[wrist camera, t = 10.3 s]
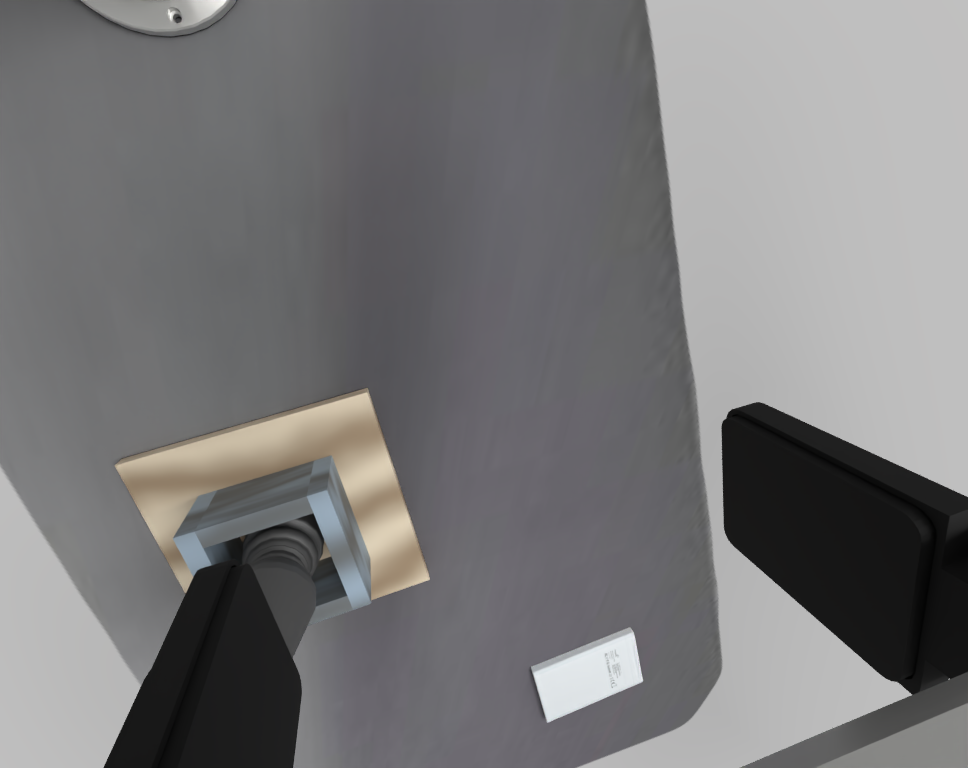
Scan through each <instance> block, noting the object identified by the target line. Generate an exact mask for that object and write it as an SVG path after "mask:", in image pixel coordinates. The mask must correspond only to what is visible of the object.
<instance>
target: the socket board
mask: <svg viewBox="0 0 968 768" xmlns="http://www.w3.org/2000/svg"><path fill="white" fill-rule="evenodd" d="M115 467H116V469H117V471H118V473H119V474H120V476H121V478H122V480H123V482H124V483H125V485H126V487H127V489H128V491H129V492H130V494H131V496H132V498H133V500H134V501H135V503H136V505H137V507H138V509H139V510H140V512H141V514H142V516H143V518H144V520H145V521H146V523H147V525H148V527H149V529H150V530H151V532H152V534H153V536H154V538H155V539H156V541H157V543H158V545H159V547H160V548H161V550H162V552H163V554H164V556H165V558H166V559H167V561H168V563H169V565H170V567H171V568H172V570H173V572H174V574H175V576H176V577H177V579H178V581H179V583H180V585H181V586H182V588H183V590H184V592H185V594H186V592H187V590H188V588H189V586H190V583H191V581H192V579H193V577H194V575H195V573H196V572H197V570H199V569H201V568H204V567H207V566H211V565H214V564H217V563H221V562H224V561H227V560H231V559H235V560H237V561H238V562H239V564H240V565H242V554H243V545H242V544H243V542H244V539H245V536H246V535H247V534H250V533H253V532H256V531H259V530H263V529H266V528H269V527H272V526H275V525H278V524H281V523H284V522H288V521H291V520H294V519H297V518H300V517H303V516H306V515H309V514H313V513H314V516H315V518H316V520H317V523H318V525H319V528H320V530H321V533H322V535H323V538H324V546H323V554H322V556H321V558H320V560H319V562H318V566H317V568H316V570H315V572H314V574H313V576H312V577H311V578H312V580H313V582H314V584H315V587H316V607H315V611H314V613H313V615H312V617H311V619H310V621H309V624H308V626H309V625H312V624H315V623H317V622H320V621H323V620H326V619H329V618H332V617H335V616H337V615H340V614H343V613H346V612H349V611H352V610H355V609H357V608H360V607H363V606H366V605H369V604H371V600H373V599H376V598H379V597H382V596H384V595H387V594H390V593H393V592H396V591H399V590H402V589H404V588H407V587H410V586H413V585H416V584H419V583H422V582H424V581H427V580H430V578H429V572H428V569H427V566H426V563H425V560H424V557H423V554H422V551H421V548H420V545H419V542H418V539H417V536H416V533H415V530H414V527H413V524H412V521H411V518H410V515H409V512H408V509H407V505H406V502H405V499H404V496H403V493H402V490H401V487H400V484H399V481H398V478H397V475H396V472H395V469H394V466H393V463H392V460H391V457H390V454H389V451H388V448H387V445H386V442H385V439H384V436H383V433H382V430H381V427H380V424H379V421H378V418H377V415H376V412H375V409H374V406H373V403H372V400H371V397H370V394H369V391H368V388H365V389H362V390H358V391H355V392H351V393H348V394H344V395H341V396H337V397H334V398H331V399H327V400H324V401H320V402H317V403H313V404H310V405H306V406H303V407H299V408H296V409H292V410H289V411H286V412H282V413H279V414H275V415H272V416H268V417H265V418H261V419H258V420H254V421H251V422H247V423H244V424H241V425H237V426H234V427H230V428H227V429H223V430H220V431H216V432H213V433H209V434H206V435H202V436H199V437H196V438H192V439H189V440H185V441H182V442H178V443H175V444H171V445H168V446H164V447H161V448H157V449H154V450H151V451H147V452H144V453H140V454H137V455H133V456H130V457H126V458H123V459H121V460H120V461H119V462H118V463H117V464H116V465H115Z"/></svg>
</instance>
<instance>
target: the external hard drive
mask: <svg viewBox="0 0 968 768" xmlns="http://www.w3.org/2000/svg"><path fill="white" fill-rule="evenodd" d="M531 671H532V674H533V677H534V681H535V684H536V688H537V691H538V695H539V698H540V702H541V705H542V708H543V712H544V716H545V718H546V721H547V722H550V721H552V720H555V719H557V718H559V717H562V716H564V715H566V714H569V713H571V712H573V711H576V710H578V709H580V708H583V707H585V706H587V705H590V704H592V703H594V702H597V701H599V700H601V699H604V698H606V697H608V696H611V695H613V694H615V693H617V692H620V691H622V690H624V689H627V688H629V687H631V686H634V685H636V684H639V683H641V682H643V678H642V673H641V668H640V663H639V657H638V652H637V646H636V641H635V636H634V633H633V631H632V629H631V628H630V627H629V628H627V629H624V630H622V631H619V632H617V633H614V634H612V635H609V636H607V637H604V638H602V639H599V640H597V641H594V642H592V643H589V644H587V645H584V646H582V647H579V648H577V649H574V650H572V651H569V652H567V653H564V654H562V655H559V656H557V657H554V658H552V659H549V660H547V661H544V662H542V663H539V664H537V665H534V666H532V667H531Z"/></svg>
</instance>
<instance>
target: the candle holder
mask: <svg viewBox="0 0 968 768" xmlns="http://www.w3.org/2000/svg"><path fill="white" fill-rule="evenodd" d="M242 545H243V554H242V565H243V564H249V565H250V566H251V567H252V569H253V571H254V573H255V575H256V578H257V580H258V582H259V584H260V587H261V589H262V591H263V593H264V596H265V598H266V600H267V602H268V605H269V607H270V609H271V611H272V614H273V616H274V618H275V620H276V623H277V625H278V627H279V629H280V632H281V634H282V636H283V638H284V641H285V643H286V645H287V647H288V650H289V652H290V654H291V656H292V658H293V656H294V654H295V651H296V649H297V647H298V645H299V643H300V641H301V638H302V636H303V634H304V632H305V630H306V628H307V626H308V624H309V621H310V619H311V617H312V615H313V613H314V611H315V607H316V587H315V584H314V582H313V580H312V578H311V577H312V576H313V574H314V572H315V570H316V568H317V566H318V562H319V560H320V558H321V556H322V554H323V546H324V538H323V535H322V533H321V530H320V528H319V525H318V523H317V520H316V518H315V516H314V513H313V514H309V515H306V516H303V517H300V518H297V519H294V520H291V521H288V522H284V523H281V524H278V525H275V526H272V527H269V528H266V529H263V530H259V531H256V532H253V533H250V534H247V535H246V536H245V539H244V542H243V544H242Z"/></svg>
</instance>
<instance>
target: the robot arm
mask: <svg viewBox="0 0 968 768" xmlns="http://www.w3.org/2000/svg"><path fill="white" fill-rule="evenodd" d="M80 1H82V2H83V3H84V4H85V5H87V6H88V7H90V8H91V9H93V10H94V11H96V12H97V13H99V14H100V15H102V16H103V17H105V18H106V19H108V20H110V21H112V22H114V23H117V24H119V25H121V26H123V27H125V28H127V29H130V30H134V31H138V32H141V33H145V34H149V35H159V36H177V35H185V34H191V33H194V32H196V31H199V30H202V29H205V28H207V27H209V26H210V25H212V24H213V23H215V22H216V21H218V20H219V19H221V18H222V17H223V16H224V15H225V14H226V13H227V12H228V11H229V10H230V9H231V8H232V6H233V5H234V4H235V3H236V1H237V0H80ZM178 16H179V17H182V21H181V22H180V23H176V21H175V19H176V17H178ZM722 465H723V507H724V530H725V533H726V536H727V538H728V540H729V541H730V542H731V544H732V545H733V546H734V547H735V548H736V549H738V550H739V551H740V552H741V553H742V554H743V555H744V556H746V557H747V558H748V559H749V560H750V561H751V562H752V563H754V564H755V565H756V566H757V567H758V568H759V569H761V570H762V571H763V572H764V573H765V574H766V575H767V576H768V577H770V578H771V579H772V580H773V581H774V582H775V583H776V584H778V585H779V586H780V587H781V588H782V589H783V590H784V591H786V592H787V593H788V594H789V595H790V596H791V597H792V598H794V599H795V600H796V601H797V602H798V603H799V604H800V605H802V606H803V607H804V608H805V609H806V610H807V611H808V612H810V613H811V614H812V615H813V616H814V617H815V618H816V619H818V620H819V621H820V622H821V623H822V624H823V625H824V626H826V627H827V628H828V629H829V630H830V631H831V632H832V633H834V634H835V635H836V636H837V637H838V638H839V639H840V640H842V641H843V642H844V643H845V644H846V645H847V646H848V647H850V648H851V649H852V650H853V651H854V652H855V653H856V654H858V655H859V656H860V657H861V658H862V659H863V660H864V661H866V662H867V663H868V664H869V665H870V666H871V667H873V669H875V670H876V671H877V672H878V673H879V674H881V675H882V676H883V677H885V678H886V679H888V680H890V681H895V682H898V683H900V684H901V685H902V686H903V687H904V688H905V689H906V690H908V691H909V692H910V693H911V694H912V696H909V697H907V698H905V699H902V700H900V701H897V702H895V703H893V704H890V705H888V706H885V707H883V708H881V709H878V710H876V711H873V712H871V713H869V714H866V715H864V716H862V717H859V718H857V719H854V720H852V721H850V722H847V723H845V724H842V725H840V726H838V727H835V728H833V729H830V730H828V731H826V732H823V733H821V734H818V735H816V736H814V737H811V738H809V739H807V740H804V741H802V742H800V743H797V744H795V745H793V746H790V747H788V748H786V749H783V750H781V751H778V752H776V753H774V754H771V755H769V756H767V757H764V758H762V759H760V760H757V761H755V762H753V763H750V764H748V765H746V766H743V767H741V768H968V497H966V496H964V495H962V494H960V493H957V492H955V491H953V490H951V489H949V488H947V487H944V486H942V485H940V484H938V483H936V482H933V481H931V480H929V479H927V478H925V477H922V476H920V475H918V474H916V473H914V472H912V471H909V470H907V469H905V468H903V467H901V466H899V465H896V464H894V463H892V462H890V461H888V460H886V459H883V458H881V457H879V456H877V455H875V454H872V453H870V452H868V451H866V450H864V449H862V448H859V447H857V446H855V445H853V444H851V443H849V442H846V441H844V440H842V439H840V438H838V437H835V436H833V435H831V434H829V433H827V432H825V431H822V430H820V429H818V428H816V427H814V426H811V425H809V424H807V423H805V422H803V421H800V420H798V419H796V418H794V417H792V416H790V415H787V414H785V413H783V412H781V411H779V410H777V409H774V408H772V407H770V406H768V405H765V404H763V403H760V402H757V403H752V404H749V405H746V406H742V407H739V408H736V409H732V410H731V411H730V412H729V413H728V415H727V419H725V420H724V421H723V423H722ZM949 678H950V680H948V679H949ZM301 695H302V688H301V680H300V675H299V672H298V670H297V668H296V665H295V663H294V661H293V659H292V656H291V654H290V652H289V650H288V647H287V645H286V643H285V641H284V638H283V636H282V634H281V632H280V629H279V627H278V625H277V623H276V620H275V618H274V616H273V614H272V611H271V609H270V607H269V605H268V602H267V600H266V598H265V596H264V593H263V591H262V589H261V587H260V584H259V582H258V580H257V578H256V575H255V573H254V571H253V569H252V567H251V566H250V565H249V564H243V565H240V564H239V562H238V561H237V560H235V559H231V560H227V561H224V562H221V563H217V564H214V565H211V566H207V567H204V568H201V569H199V570H197V572H196V573H195V575H194V577H193V579H192V581H191V583H190V586H189V588H188V590H187V592H186V594H185V597H184V599H183V601H182V603H181V605H180V608H179V610H178V612H177V614H176V616H175V618H174V621H173V623H172V625H171V627H170V629H169V632H168V634H167V636H166V638H165V640H164V642H163V645H162V647H161V649H160V651H159V653H158V656H157V658H156V660H155V662H154V664H153V667H152V669H151V670H150V671H149V673H148V675H147V676H146V678H145V679H144V681H143V684H142V686H141V688H140V690H139V692H138V694H137V697H136V699H135V701H134V703H133V705H132V707H131V710H130V712H129V714H128V716H127V718H126V720H125V722H124V725H123V727H122V729H121V731H120V733H119V736H118V738H117V740H116V742H115V744H114V746H113V749H112V751H111V753H110V755H109V757H108V759H107V762H106V764H105V766H104V768H293V763H294V755H295V747H296V738H297V730H298V721H299V713H300V704H301Z"/></svg>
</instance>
